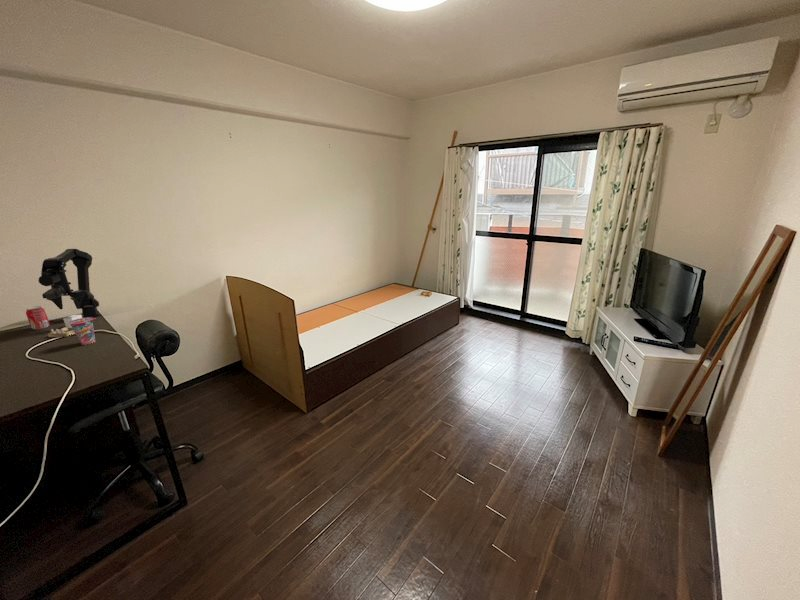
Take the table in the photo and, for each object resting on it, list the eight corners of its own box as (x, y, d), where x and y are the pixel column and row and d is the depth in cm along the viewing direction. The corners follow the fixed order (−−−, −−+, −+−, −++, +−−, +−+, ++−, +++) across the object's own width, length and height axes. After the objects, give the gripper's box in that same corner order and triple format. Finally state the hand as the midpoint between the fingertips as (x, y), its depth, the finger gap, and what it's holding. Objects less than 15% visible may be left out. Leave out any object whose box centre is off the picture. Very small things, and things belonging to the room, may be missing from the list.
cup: (78, 348, 153) (70, 324, 149) (75, 343, 158) (67, 321, 154) (104, 341, 160) (96, 318, 156) (99, 337, 165) (92, 315, 161)
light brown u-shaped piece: (66, 330, 175) (63, 323, 174) (83, 329, 176) (81, 323, 174) (48, 337, 166) (45, 330, 165) (67, 336, 167) (64, 329, 165)
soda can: (36, 327, 181) (28, 306, 178) (53, 324, 184) (45, 305, 181) (29, 331, 175) (21, 310, 172) (46, 328, 178) (38, 308, 175)
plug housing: (76, 324, 184) (73, 314, 182) (84, 324, 184) (81, 314, 182) (66, 328, 178) (62, 317, 176) (74, 328, 178) (71, 317, 176)
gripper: (26, 286, 166) (37, 314, 170) (63, 285, 166) (73, 313, 171) (48, 280, 176) (58, 307, 181) (83, 279, 177) (91, 306, 181)
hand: (69, 309), depth 178 cm, fingers open, 9 cm apart
